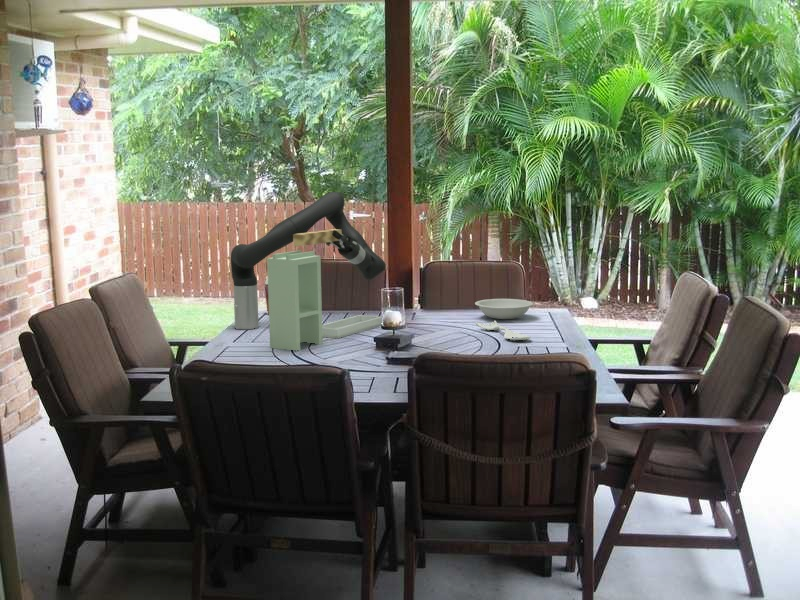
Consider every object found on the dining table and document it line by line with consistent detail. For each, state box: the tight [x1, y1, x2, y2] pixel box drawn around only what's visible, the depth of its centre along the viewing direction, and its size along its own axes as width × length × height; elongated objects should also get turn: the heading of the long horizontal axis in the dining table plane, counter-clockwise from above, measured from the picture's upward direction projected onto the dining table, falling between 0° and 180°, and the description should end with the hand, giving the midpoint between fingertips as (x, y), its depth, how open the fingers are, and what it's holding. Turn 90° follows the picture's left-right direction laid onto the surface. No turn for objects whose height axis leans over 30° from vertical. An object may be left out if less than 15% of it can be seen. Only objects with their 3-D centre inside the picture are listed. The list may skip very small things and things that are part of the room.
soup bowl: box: [474, 298, 534, 320], centre depth 375 cm, size 24×24×7 cm
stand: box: [266, 250, 323, 352], centre depth 322 cm, size 15×12×34 cm
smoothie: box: [264, 277, 269, 315], centre depth 391 cm, size 8×8×20 cm
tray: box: [322, 314, 383, 340], centre depth 352 cm, size 31×11×4 cm, turn 148°
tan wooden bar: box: [292, 228, 342, 247], centre depth 331 cm, size 24×4×4 cm, turn 148°
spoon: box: [475, 320, 531, 341], centre depth 339 cm, size 9×32×4 cm, turn 21°
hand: (328, 232), depth 336 cm, fingers closed on tan wooden bar, 4 cm apart
